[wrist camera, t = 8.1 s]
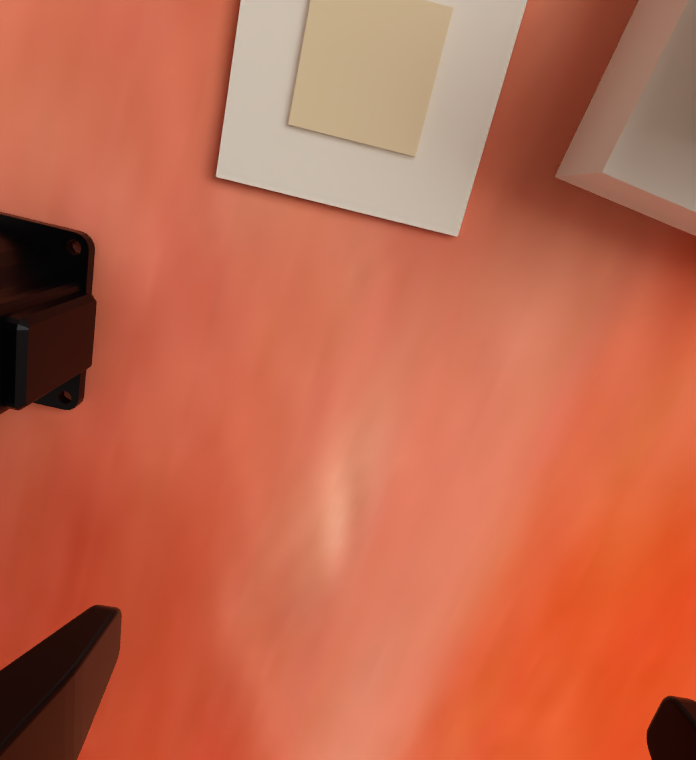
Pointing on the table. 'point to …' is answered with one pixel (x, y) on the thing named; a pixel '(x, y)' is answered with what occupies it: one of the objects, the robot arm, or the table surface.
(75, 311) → the robot arm
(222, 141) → the tile
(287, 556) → the table surface
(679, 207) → the base block
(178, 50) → the table surface
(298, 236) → the table surface
